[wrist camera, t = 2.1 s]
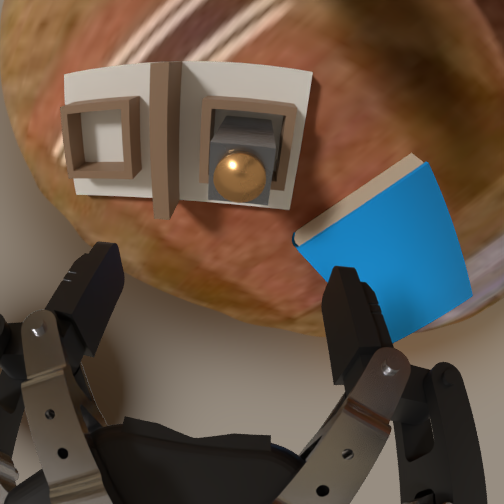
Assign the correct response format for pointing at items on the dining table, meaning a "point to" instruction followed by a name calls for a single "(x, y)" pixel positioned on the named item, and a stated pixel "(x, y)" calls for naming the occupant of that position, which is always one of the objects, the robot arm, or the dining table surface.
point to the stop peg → (242, 161)
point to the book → (394, 246)
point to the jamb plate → (175, 126)
